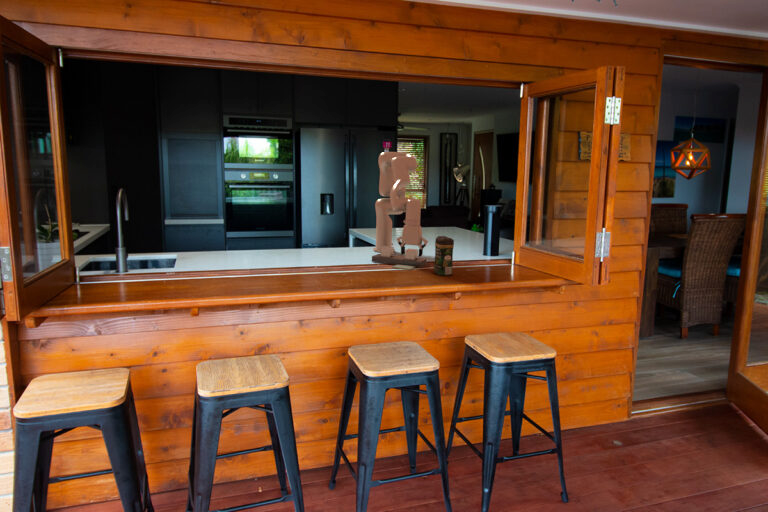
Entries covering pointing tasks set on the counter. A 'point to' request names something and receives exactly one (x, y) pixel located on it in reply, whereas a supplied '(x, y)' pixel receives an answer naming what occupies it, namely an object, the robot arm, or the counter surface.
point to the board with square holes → (399, 260)
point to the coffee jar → (443, 255)
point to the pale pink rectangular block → (411, 254)
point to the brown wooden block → (387, 251)
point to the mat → (403, 267)
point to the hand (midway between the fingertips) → (411, 255)
